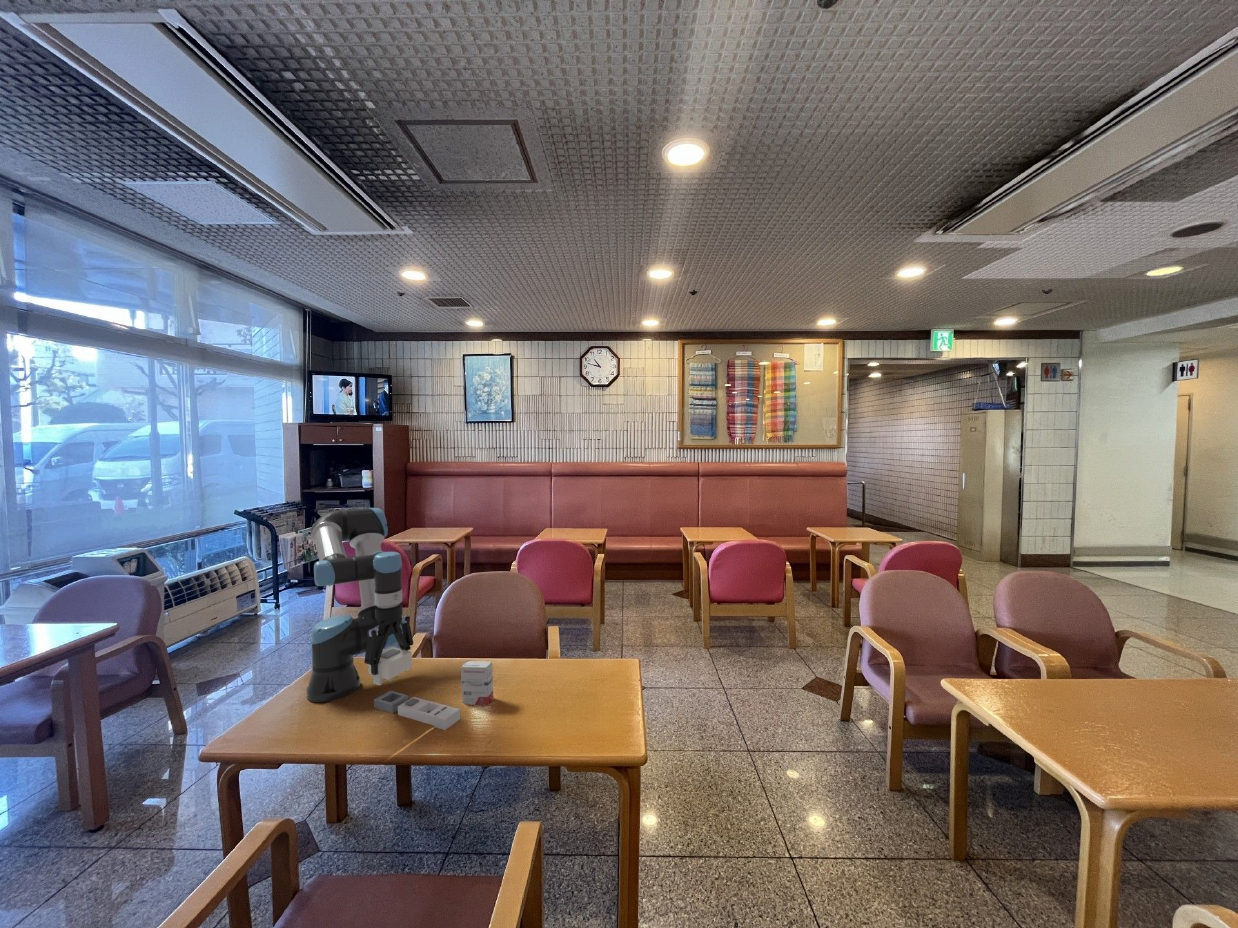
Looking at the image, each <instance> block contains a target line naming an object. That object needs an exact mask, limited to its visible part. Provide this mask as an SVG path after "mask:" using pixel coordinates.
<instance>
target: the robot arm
mask: <svg viewBox="0 0 1238 928" xmlns="http://www.w3.org/2000/svg"><path fill="white" fill-rule="evenodd" d="M387 524H388V521H387V518H386V515H385V512H384V511H383V509H381V508H379V507H366V508H353V509H338V510H332V511H330V512H327V513H326V514H324V515H322V516H321V517H319V518H318V519H317V520H316V521H315V522H314V523H313V525H312V527H311V529H310V539H311V541H312V543H313V544H314V545H315V546H316V551H317V557H318V561H316V562H314V565H313V575H314V584H315V586H317V587H325V586H327V587H330V586H334V585H340V584H341V585H342V584H347V583H354V582H358V585H359V586H358V587H359V594H360V595H359V596H360V601H361V602H360V604H361V608H360V609H359V611H358V612H357V617H356V618H354V617H352V616H353V615H350V614H339V615H335V616H331V617H328V618H325V619H324V620H321V621H319V622H318V623H317V624H315V625H314V626H313V627H312V628H311V638H310V644H311V668H312V669H311V670H312V671H311V676H310V678H309V681H308V686H307V688H306V698H307V700H308V701H310V702H311V703H327V702H332V701H334V700H339V699H341V698H344V697H347V696H349V695H351V694H353V693H354V692H356V691H357V690H359V688H360V687H361V678H360V675H359V672H358V670H357V668H356V666H355V662H354V656H358V655H362V654H364V655H365V656H364V661H363V663H364V664H365V665H366V664H367V665H368V664H369V665H371V674H372V675H371V676H372V681H373V685H377V686H381V685H382V684H383V678H382V668H381V663H380V662H379V661H380V657H381V654H382V651H383V650H386V649H388V648H390V647H395V646H397V645H398V646H399V649H403V650H407V651H411V646H413V645H414V640H413V635H412V627H411V624H410V621H411V616H410V615H405V614H404V612H403V611H404V610H403V603H402V602H403V586H402V585H403V583H402V580H403V577H402V576H403V575H402V571H403V570H402V569H403V567H402V566H403V561H402V555H401V554H400V553H399V552H397V551H384V550H383V551H382V543H383V542H384V540H385V537H387V536H388V531H389V530H388V525H387ZM343 542H348V543H349V546H350V547H351V548H353V549H354V552H355V556H352V557H351V556H350V557H348V555H347V553H346V550H345V547H344V543H343ZM407 671H408V670H406V671H404V672H403V673H405V672H407Z"/></svg>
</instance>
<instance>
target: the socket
mask: <svg viewBox="0 0 1238 928" xmlns="http://www.w3.org/2000/svg"><path fill="white" fill-rule="evenodd" d="M397 715H398V716H400V717H403V718H407V719H410V720H414V721H418V722H421V723H425V724H428V725H430V726H431V725H432V727H433V728H436V729H439V730H443V731H446V730H447V729H449V728H450V727H452V726H453V725H455V724H456V723H457V722H459V721H460V720H461V709H460V708H457V707H453V706H449V705H446V704H443V703H438V702H435V701H431V700H427V699H423V698H420V697H415V696H413V697H411V698H409V700H408V701H406V702H404V703H403V704H401V705H399V706H398V711H397Z"/></svg>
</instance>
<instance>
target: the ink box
mask: <svg viewBox="0 0 1238 928" xmlns="http://www.w3.org/2000/svg"><path fill="white" fill-rule="evenodd" d="M460 674H461V675H460V676H461V677H460V679H461V681H460V682H461V703H462V704H465V705H471V706H473V705H474V706H475V705H477V706H489V705H490V703H491V702H492V701H493V699H494V685H493V684H494V679H493V676H494V675H493V662H492V661H481V660H480V661H479V660H478V661H477V660H476V661H474V660H471V661H470V660H469V661H467V660H466V662H465V663H463V665H462V666H461V667H460Z"/></svg>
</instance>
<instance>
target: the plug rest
mask: <svg viewBox="0 0 1238 928" xmlns="http://www.w3.org/2000/svg"><path fill="white" fill-rule="evenodd" d="M409 699H410V695H407V694H404V693H402V692H401V693H400V692H397V691H393V690H388V691H387V692H385V693H383V694H381V695H380V696H377V697H376V698H373V708H374V709H377V710H380V711H383V712H387V713H390V714H394V713H396V712H398V706H399V705H401V704H403V703H404V702H406V701H408V700H409Z"/></svg>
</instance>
